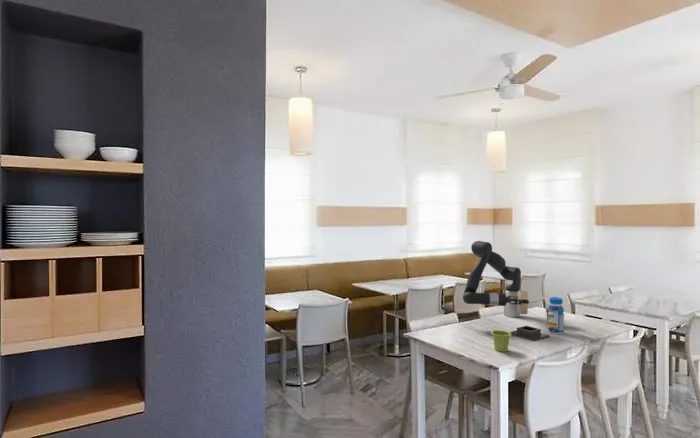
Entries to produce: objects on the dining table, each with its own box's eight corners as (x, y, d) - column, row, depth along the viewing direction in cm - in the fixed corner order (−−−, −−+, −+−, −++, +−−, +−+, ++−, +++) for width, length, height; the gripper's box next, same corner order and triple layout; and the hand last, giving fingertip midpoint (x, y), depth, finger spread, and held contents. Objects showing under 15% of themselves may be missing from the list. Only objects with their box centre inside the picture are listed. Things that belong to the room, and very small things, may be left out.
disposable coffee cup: (565, 327, 245) (565, 307, 245) (549, 327, 245) (549, 307, 245) (557, 323, 255) (557, 304, 255) (542, 323, 255) (542, 304, 255)
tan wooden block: (516, 312, 240) (516, 290, 240) (521, 311, 242) (521, 290, 242) (523, 314, 235) (524, 292, 235) (529, 313, 238) (529, 291, 238)
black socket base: (508, 334, 232) (508, 327, 232) (523, 330, 240) (523, 323, 240) (534, 341, 219) (534, 333, 219) (549, 337, 226) (549, 329, 226)
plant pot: (506, 346, 210) (506, 330, 210) (514, 352, 200) (514, 335, 200) (488, 347, 210) (488, 330, 210) (495, 353, 200) (495, 335, 200)
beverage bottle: (566, 334, 230) (566, 299, 230) (550, 334, 232) (550, 299, 232) (561, 330, 239) (561, 297, 239) (546, 329, 240) (546, 296, 240)
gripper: (499, 295, 235) (530, 296, 231) (495, 290, 249) (525, 292, 245) (498, 308, 235) (530, 309, 231) (495, 303, 249) (525, 304, 245)
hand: (527, 300), depth 238 cm, fingers closed on tan wooden block, 5 cm apart
